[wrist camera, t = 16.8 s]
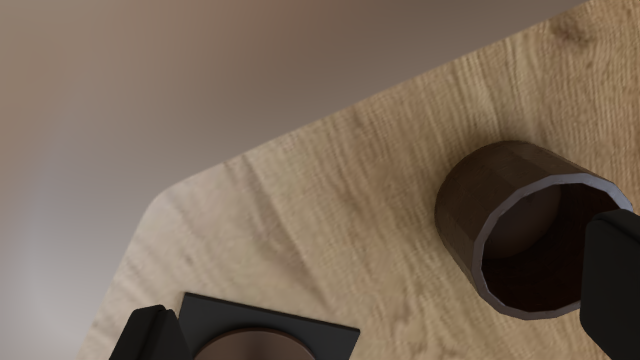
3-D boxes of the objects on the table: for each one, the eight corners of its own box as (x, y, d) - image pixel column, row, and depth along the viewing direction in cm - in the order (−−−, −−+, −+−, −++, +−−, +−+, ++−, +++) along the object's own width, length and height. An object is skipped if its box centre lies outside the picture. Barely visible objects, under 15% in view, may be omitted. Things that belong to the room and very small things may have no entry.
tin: (430, 267, 41) (464, 325, 34) (439, 144, 37) (481, 178, 29) (553, 258, 42) (615, 313, 34) (576, 137, 38) (654, 168, 30)
